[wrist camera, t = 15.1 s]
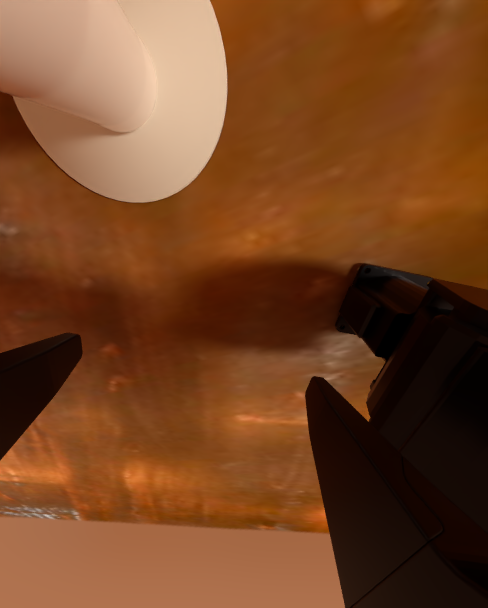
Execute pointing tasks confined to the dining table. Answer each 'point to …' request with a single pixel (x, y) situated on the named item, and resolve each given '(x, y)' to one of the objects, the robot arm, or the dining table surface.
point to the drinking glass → (77, 60)
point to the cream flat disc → (164, 119)
